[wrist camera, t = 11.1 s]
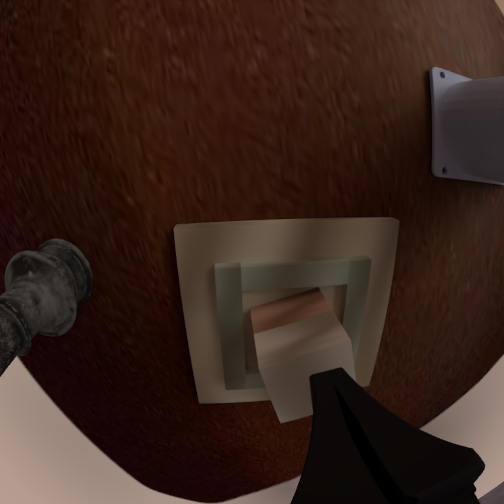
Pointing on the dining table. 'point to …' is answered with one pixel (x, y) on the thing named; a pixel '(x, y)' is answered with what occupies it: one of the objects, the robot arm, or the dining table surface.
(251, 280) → the pocket board
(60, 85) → the dining table surface
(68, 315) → the dark grey chess piece
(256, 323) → the brown and beige block
